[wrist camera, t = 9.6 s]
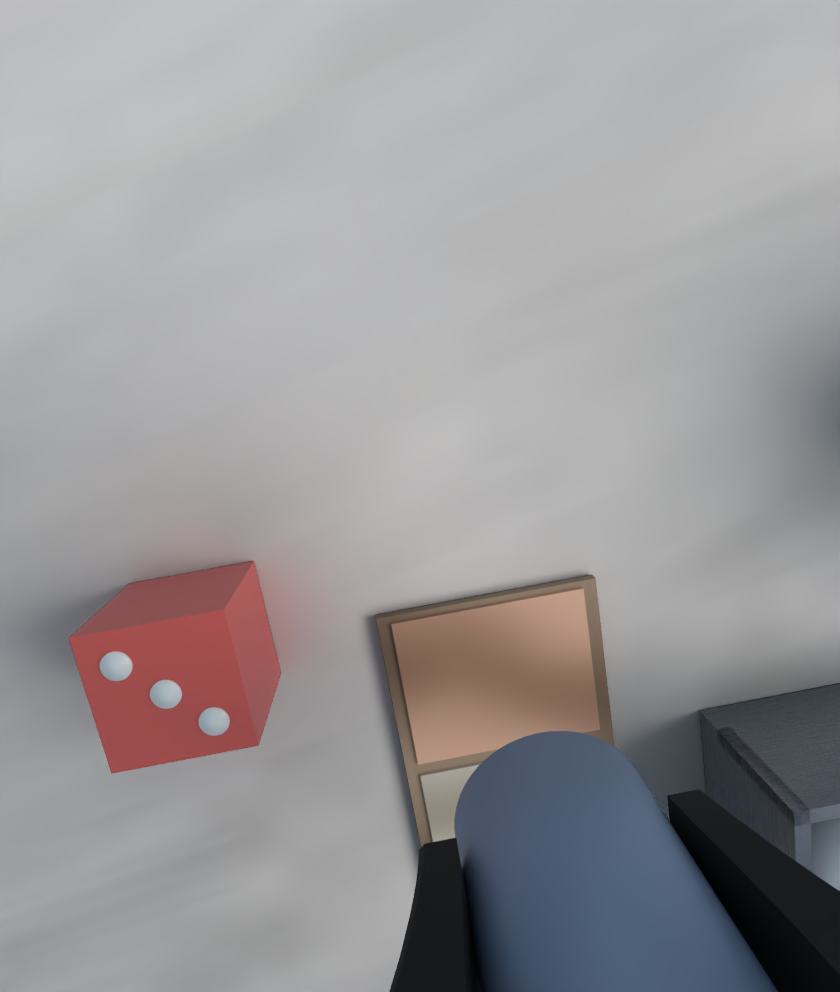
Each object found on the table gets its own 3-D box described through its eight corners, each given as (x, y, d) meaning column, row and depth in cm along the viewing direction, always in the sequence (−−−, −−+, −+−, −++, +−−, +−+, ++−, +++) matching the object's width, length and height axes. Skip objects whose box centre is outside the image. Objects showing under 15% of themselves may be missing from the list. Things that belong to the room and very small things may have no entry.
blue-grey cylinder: (646, 889, 13) (858, 1307, 7) (459, 911, 13) (526, 1357, 7) (647, 721, 12) (891, 1041, 7) (448, 741, 12) (515, 1091, 6)
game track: (650, 1088, 23) (654, 1101, 22) (477, 1125, 22) (479, 1138, 22) (592, 574, 18) (596, 579, 18) (376, 614, 18) (376, 620, 18)
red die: (281, 673, 18) (258, 747, 15) (161, 695, 18) (110, 775, 15) (253, 561, 17) (223, 610, 14) (129, 583, 17) (66, 639, 14)
